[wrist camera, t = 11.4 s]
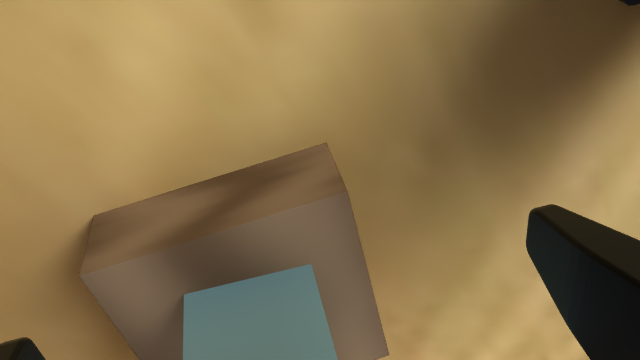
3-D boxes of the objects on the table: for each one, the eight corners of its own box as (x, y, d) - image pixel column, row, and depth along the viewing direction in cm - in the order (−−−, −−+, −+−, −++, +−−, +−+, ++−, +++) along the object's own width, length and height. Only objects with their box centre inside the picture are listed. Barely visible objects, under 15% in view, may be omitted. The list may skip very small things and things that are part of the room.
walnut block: (324, 138, 22) (347, 191, 19) (366, 293, 28) (389, 355, 25) (95, 209, 22) (79, 276, 19) (185, 352, 28) (184, 422, 25)
